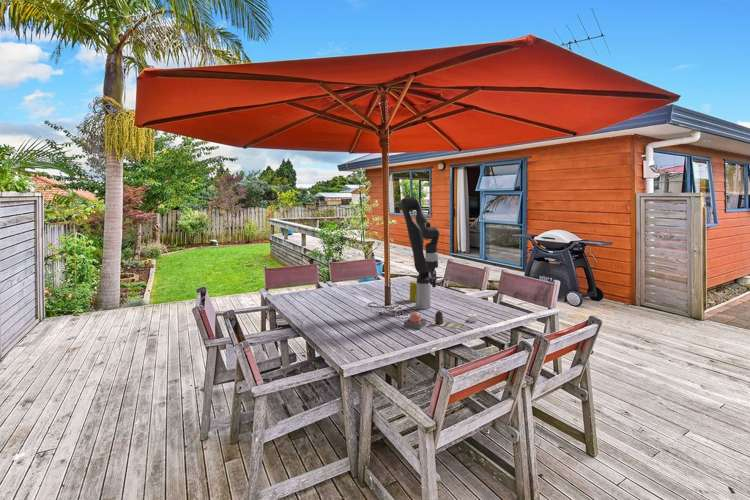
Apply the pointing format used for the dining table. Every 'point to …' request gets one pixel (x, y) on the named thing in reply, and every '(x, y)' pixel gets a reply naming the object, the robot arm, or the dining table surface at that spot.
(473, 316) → the die
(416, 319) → the dome
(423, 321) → the dome collar
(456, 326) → the board
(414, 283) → the food
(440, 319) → the pawn
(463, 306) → the dining table surface
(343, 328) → the dining table surface
